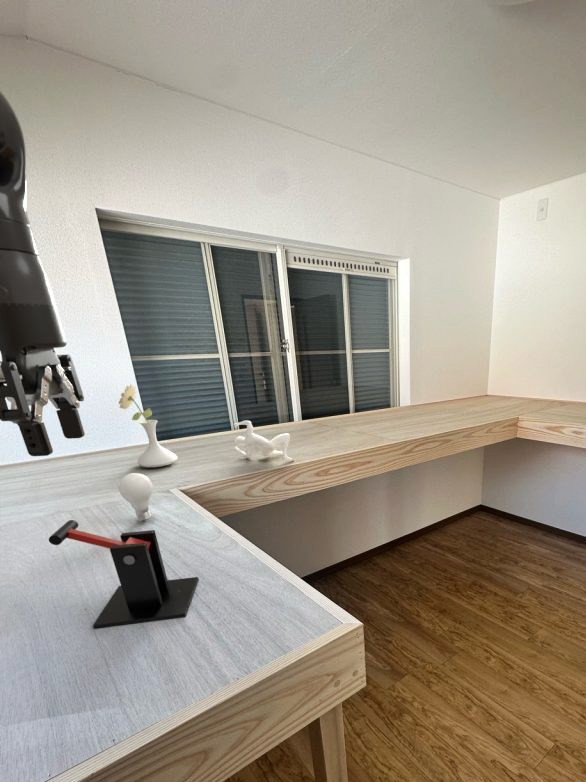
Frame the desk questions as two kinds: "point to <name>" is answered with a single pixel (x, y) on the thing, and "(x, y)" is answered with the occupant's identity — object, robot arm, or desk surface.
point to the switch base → (144, 586)
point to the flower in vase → (154, 452)
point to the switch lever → (87, 537)
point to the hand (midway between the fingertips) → (59, 445)
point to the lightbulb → (137, 493)
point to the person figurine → (261, 443)
